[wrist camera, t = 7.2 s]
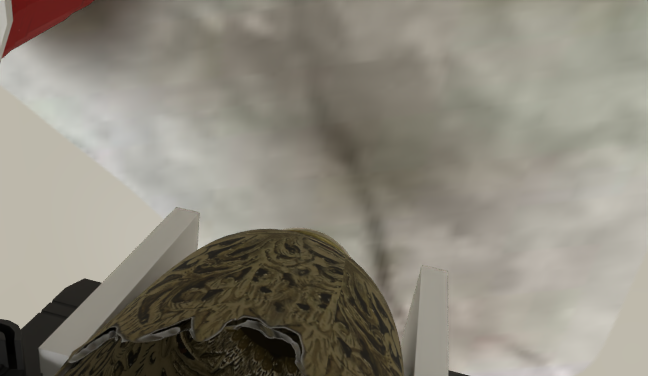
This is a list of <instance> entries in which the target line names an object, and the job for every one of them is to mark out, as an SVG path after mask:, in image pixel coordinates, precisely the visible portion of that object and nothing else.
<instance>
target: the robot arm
mask: <svg viewBox="0 0 648 376" xmlns="http://www.w3.org/2000/svg"><path fill="white" fill-rule="evenodd" d="M199 215H200V213H199V212H195V211H191V210H187V209H182V208H178V207H176V208H175V209H174V210H173V211H172V212H171V213H170V214H169V215H168V216H167V217H166V218H165V219H164V220H163V221H162V222H161V223H160V224H159V225H158V226H157V227H156V228H155V229H154V230H153V231H152V232H151V234H150V235H149V236H148V237H147V238H146V239H145V240H144V241H143V242H142V243H141V244H140V245H139V246H138V247H137V248H136V249H135V250H134V251H133V252H132V253H131V254H130V255H129V256H128V257H127V258H126V259H125V260H124V261H123V262H122V263H121V264H120V265H119V266H118V267H117V268H116V269H115V270H114V271H113V272H112V273H111V274H110V275H109V276H108V277H107V278H106V279H105V281H103V283H100V282H96V281H93V280H88V279H83V280H81V281H79V282H76V283H74V284H72V285H70V286H68V287H66V288H65V289H64V290H63V291H62V292H61V293H60V294H59V295H57V296H56V297H55V298H54V299H53V301H52V303H49V304H48V305H47V306H46V307H45V308H44V309H42V312H41V313H38V314H37V315H36V316H35V317H34V318H33V319H32V320H31V321H30V322H29V323H27V324H26V325H25V326H24V327H23V328H22V329H21V330H20V328H19V326H18V325H17V324H15V323H13V322H11V321H9V320H3V319H0V376H55V374H56V373H57V372H58V371H59V370H60V369H61V367H62V366H63V364H64V363H65V362H66V361H67V360H68V359H69V356H70V355H71V353H72V352H73V351H74V350H76V349H77V348H79V347H80V346H82V345H83V344H84V343H86V342H87V341H88V340H89V339H90V338H91V337H93V336H94V335H95V334H96V333H97V332H98V331H99V330H100V329H102V328H103V327H104V326H105V325H106V324H107V323H108V322H109V321H111V320H112V319H113V318H114V317H115V316H116V315H117V314H118V313H120V312H121V311H122V310H123V309H124V308H125V307H126V306H127V305H129V304H130V303H131V302H132V301H133V300H134V299H135V298H137V297H138V296H139V295H140V294H141V293H142V292H143V291H145V290H146V289H147V288H148V287H149V286H150V285H151V284H153V283H154V282H155V281H156V280H157V279H158V278H160V277H161V276H162V275H163V274H165V273H166V272H167V271H168V270H170V269H171V268H172V267H173V266H175V265H176V264H178V263H179V262H180V261H182V260H183V259H184V258H186V257H187V256H189V255H190V254H192V253H193V252H195V251H196V250H197V246H198V231H199ZM401 352H402V358H403V367H404V375H405V376H468V375H465V374H461V373H457V372H453V371H449V370H448V271H444V270H440V269H436V268H432V267H427V266H423V265H422V267H421V270H420V274H419V278H418V281H417V285H416V289H415V292H414V296H413V299H412V303H411V307H410V310H409V314H408V318H407V321H406V325H405V329H404V332H403V336H402V343H401Z"/></svg>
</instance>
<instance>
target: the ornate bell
mask: <svg viewBox="0 0 648 376" xmlns="http://www.w3.org/2000/svg"><path fill="white" fill-rule="evenodd" d="M55 376H405V375H404V367H403V358H402V352H401V347H400V341H399V337H398V333H397V329H396V326H395V323H394V320H393V317H392V314H391V312H390V309H389V307H388V305H387V303H386V301H385V299H384V297H383V295H382V294H381V292H380V291H379V289H378V288H377V286H376V285H375V283H374V282H373V280H372V279H371V278H370V277H369V275H368V274H367V273H366V272H365V271H364V270H363V269H362V268H361V267H360V266H359V265H358V264H357V263H356V262H355V261H354V260H352V259H351V257H350V256H349V254H348V253H347V252H346V250H345V249H344V248H343V247H342V246H341V245H340V244H339V243H338V242H336V241H335V240H334V239H332V238H331V237H329V236H327V235H325V234H323V233H321V232H318V231H315V230H312V229H307V228H287V229H282V230H278V229H257V230H250V231H244V232H240V233H236V234H232V235H228V236H225V237H223V238H220V239H218V240H215V241H213V242H211V243H209V244H208V245H206V246H204V247H202V248H200V249H198V250H196V251H195V252H193V253H192V254H190V255H189V256H187V257H186V258H184V259H183V260H182V261H180V262H179V263H178V264H176V265H175V266H173V267H172V268H171V269H170V270H168V271H167V272H166V273H165V274H163V275H162V276H161V277H160V278H158V279H157V280H156V281H155V282H154V283H153V284H151V285H150V286H149V287H148V288H147V289H146V290H145V291H143V292H142V293H141V294H140V295H139V296H138V297H137V298H135V299H134V300H133V301H132V302H131V303H130V304H129V305H127V306H126V307H125V308H124V309H123V310H122V311H121V312H120V313H118V314H117V315H116V316H115V317H114V318H113V319H112V320H111V321H109V322H108V323H107V324H106V325H105V326H104V327H103V328H102V329H100V330H99V331H98V332H97V333H96V334H95V335H94V336H93V337H91V338H90V339H89V340H88V341H87V342H86V343H84V344H83V345H82V346H80V347H79V348H77V349H76V350H74V351H73V352H72V353H71V355H70V356H69V359H68V360H67V361H66V362H65V363H64V364H63V366H62V367H61V369H60V370H59V371H58V372H57V373H56V374H55Z"/></svg>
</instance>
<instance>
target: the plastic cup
mask: <svg viewBox="0 0 648 376" xmlns="http://www.w3.org/2000/svg"><path fill="white" fill-rule="evenodd" d="M93 1H94V0H0V62H1V59H2V58H3V57H4V56H6V55H7V54H8V53H9V52H10V51H11V50H13V49H15V48H16V47H18V46H20V45H22V44H23V43H25V42H27V41H29V40H30V39H32V38H34V37H36V36H37V35H39V34H41V33H43V32H44V31H46V30H48V29H50V28H51V27H53V26H55V25H57V24H58V23H60V22H62V21H64V20H65V19H66V18H68V17H69V16H70V15H71V14H72V13H74V12H76V11H78V10H80V9H82V8H84V7H86V6H87V5H89V4H91V3H92V2H93Z"/></svg>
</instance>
